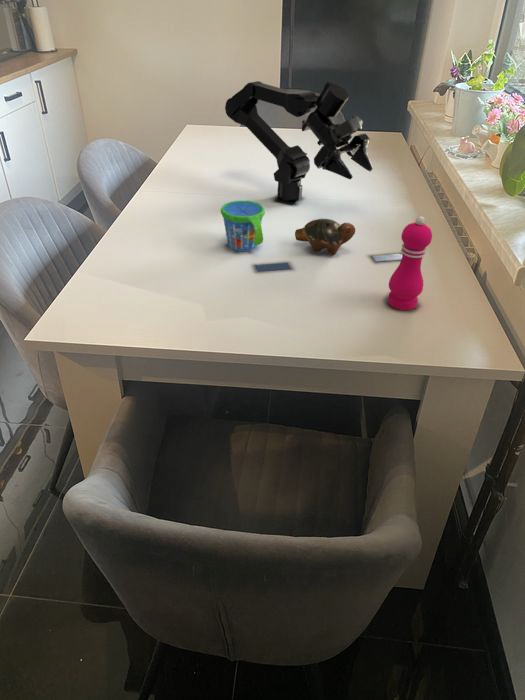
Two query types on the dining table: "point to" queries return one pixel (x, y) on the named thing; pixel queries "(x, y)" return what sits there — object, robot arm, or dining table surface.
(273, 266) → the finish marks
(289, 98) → the robot arm
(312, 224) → the decorative turtle
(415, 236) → the pepper mill
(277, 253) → the dining table surface
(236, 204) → the snack cup
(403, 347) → the dining table surface
